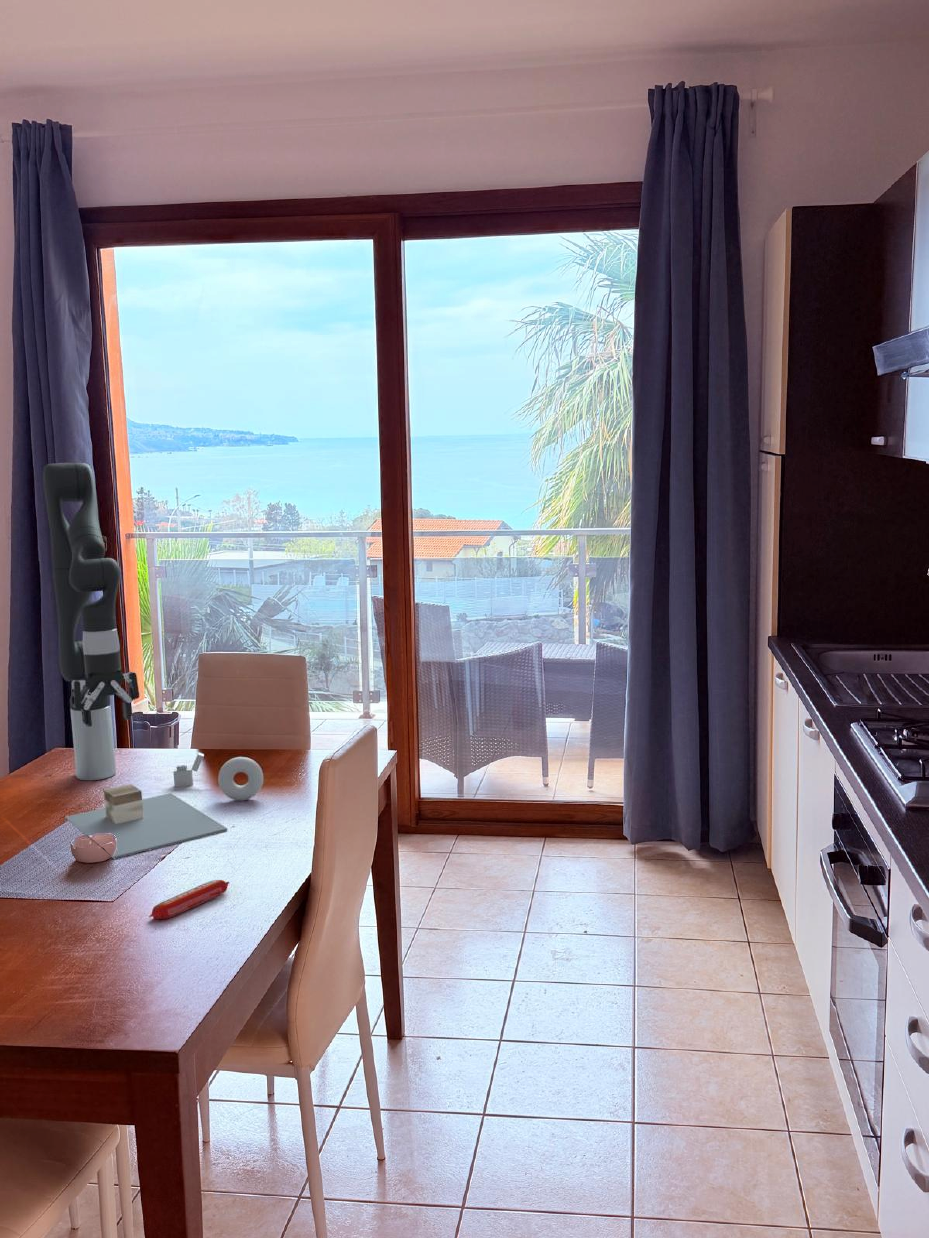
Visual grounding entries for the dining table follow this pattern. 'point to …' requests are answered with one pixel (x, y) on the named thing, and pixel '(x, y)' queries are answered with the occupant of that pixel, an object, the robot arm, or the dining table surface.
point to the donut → (236, 790)
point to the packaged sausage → (189, 899)
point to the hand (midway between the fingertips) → (107, 722)
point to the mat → (150, 825)
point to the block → (123, 803)
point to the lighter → (186, 773)
